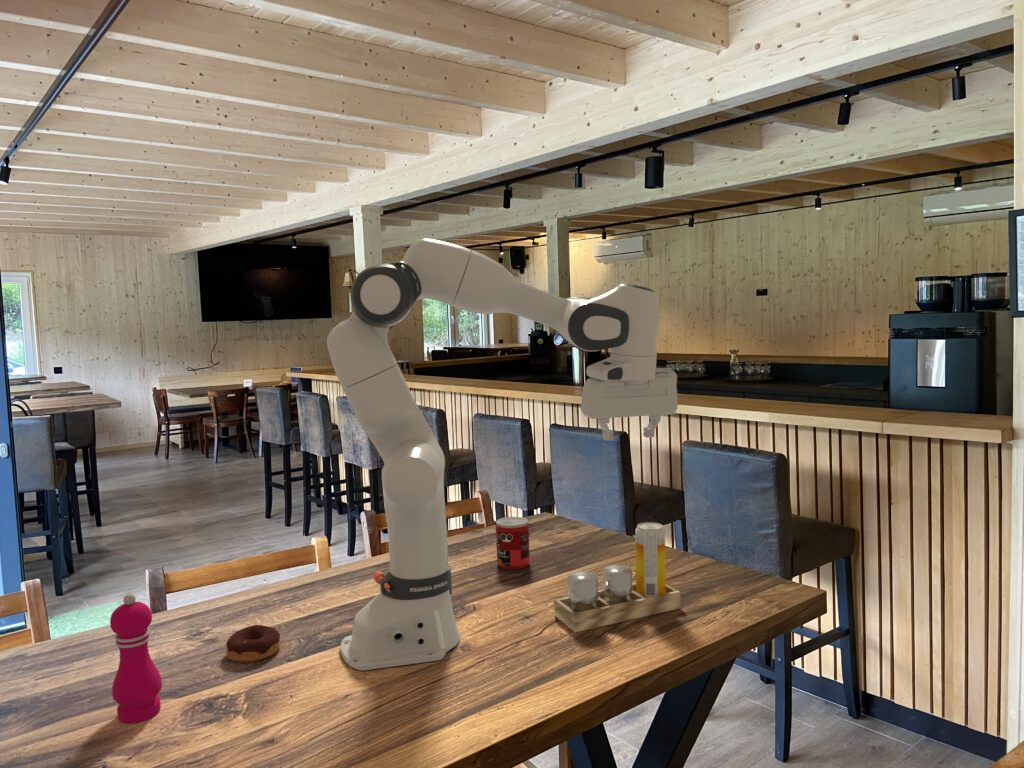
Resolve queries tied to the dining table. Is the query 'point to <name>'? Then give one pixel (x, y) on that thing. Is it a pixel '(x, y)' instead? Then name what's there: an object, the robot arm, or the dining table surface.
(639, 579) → the beer can
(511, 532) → the canned food
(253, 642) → the donut
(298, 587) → the dining table surface
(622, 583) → the seated canisters
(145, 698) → the pepper mill
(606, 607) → the compartment tray
